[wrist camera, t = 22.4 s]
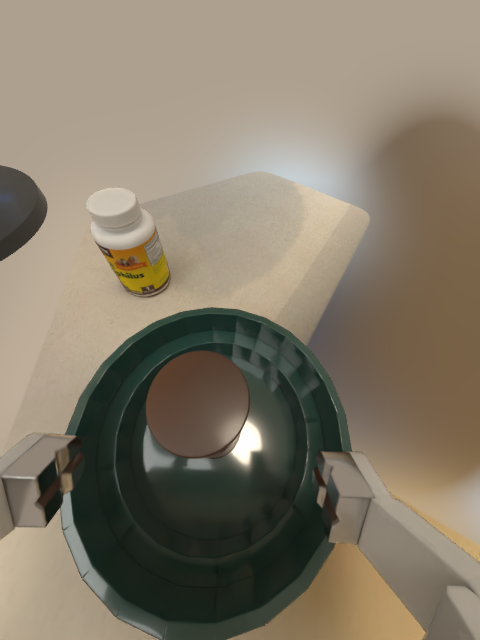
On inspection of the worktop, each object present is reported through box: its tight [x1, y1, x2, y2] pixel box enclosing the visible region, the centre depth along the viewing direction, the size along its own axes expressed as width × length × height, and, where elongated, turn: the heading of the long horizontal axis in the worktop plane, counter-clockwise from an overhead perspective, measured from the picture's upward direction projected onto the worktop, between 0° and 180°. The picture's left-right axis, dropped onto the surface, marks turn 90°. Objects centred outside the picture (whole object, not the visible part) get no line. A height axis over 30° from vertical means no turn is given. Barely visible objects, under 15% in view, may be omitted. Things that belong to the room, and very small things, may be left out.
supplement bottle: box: [86, 187, 170, 296], centre depth 23 cm, size 6×6×10 cm
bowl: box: [60, 307, 352, 640], centre depth 17 cm, size 17×17×6 cm
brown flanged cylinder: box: [146, 351, 250, 459], centre depth 13 cm, size 4×4×14 cm
